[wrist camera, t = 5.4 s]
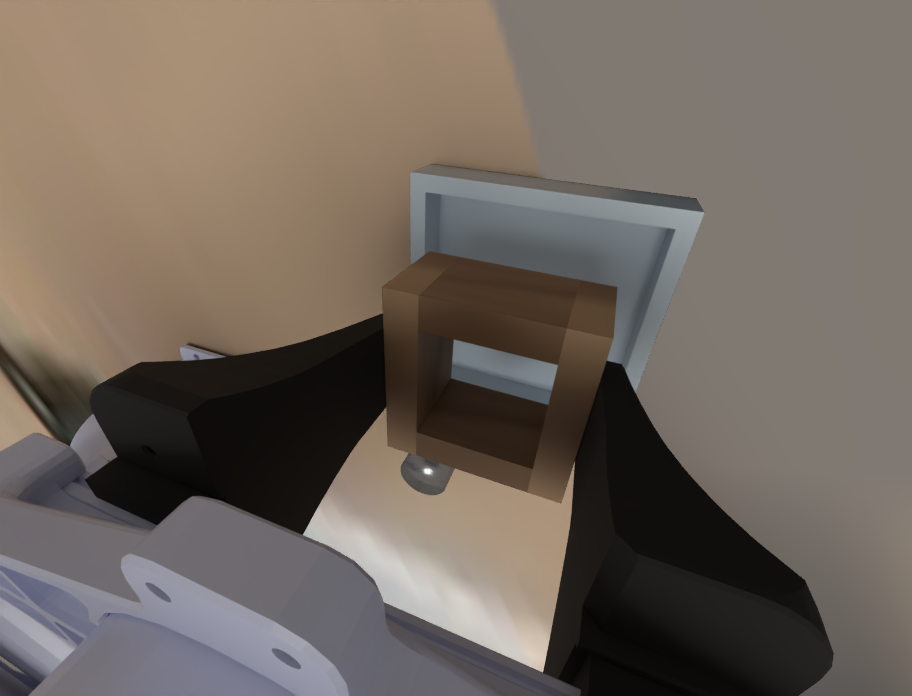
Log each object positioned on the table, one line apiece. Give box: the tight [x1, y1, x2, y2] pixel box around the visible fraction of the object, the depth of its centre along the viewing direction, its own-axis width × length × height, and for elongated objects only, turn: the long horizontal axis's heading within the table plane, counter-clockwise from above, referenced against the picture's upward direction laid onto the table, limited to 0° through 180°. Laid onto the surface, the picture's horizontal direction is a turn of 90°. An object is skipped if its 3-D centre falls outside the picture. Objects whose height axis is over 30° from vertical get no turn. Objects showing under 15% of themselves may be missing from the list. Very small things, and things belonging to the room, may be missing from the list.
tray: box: [410, 164, 705, 405], centre depth 17 cm, size 10×10×2 cm
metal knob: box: [401, 453, 455, 495], centre depth 22 cm, size 5×5×4 cm
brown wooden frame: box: [382, 251, 618, 503], centre depth 13 cm, size 7×6×3 cm
